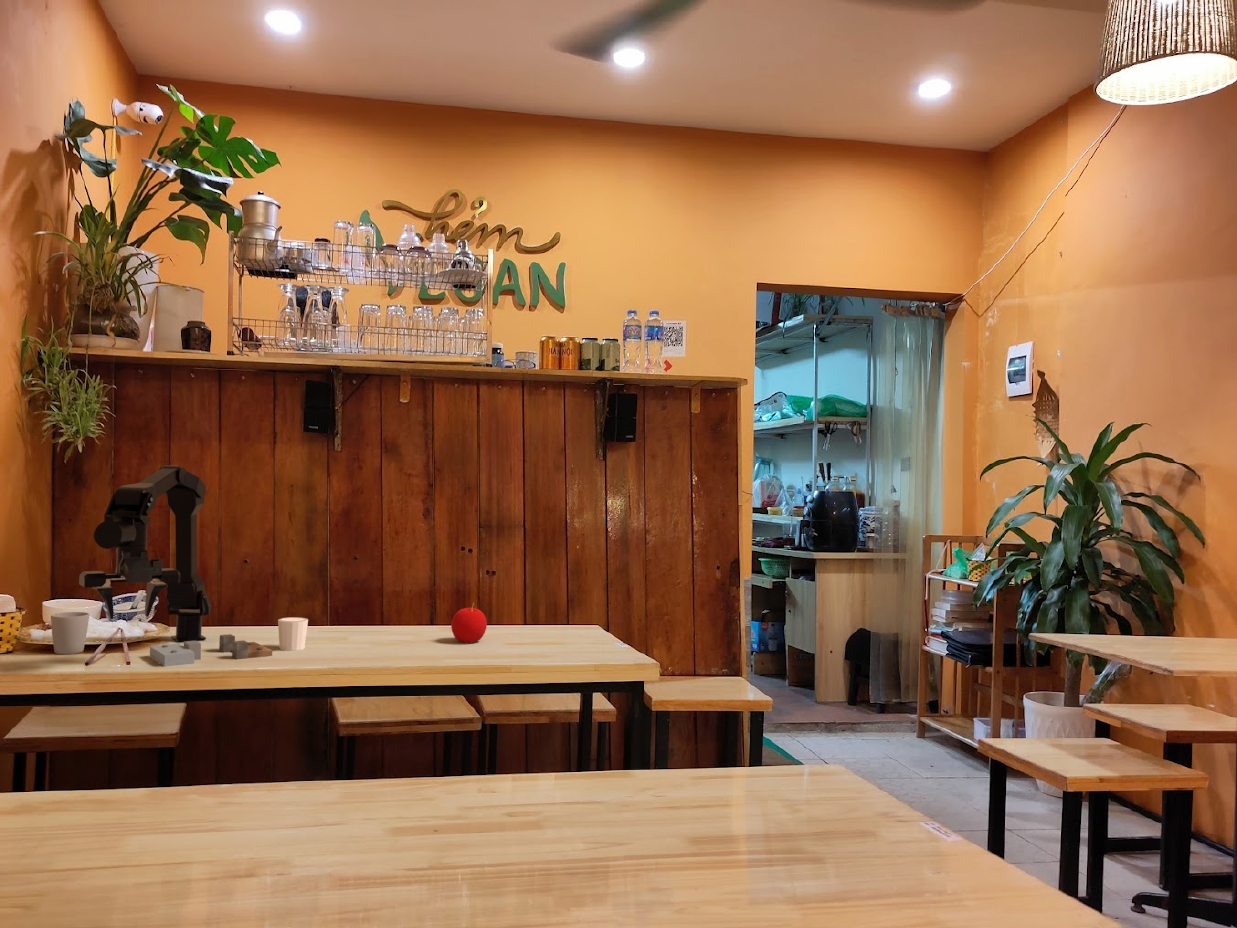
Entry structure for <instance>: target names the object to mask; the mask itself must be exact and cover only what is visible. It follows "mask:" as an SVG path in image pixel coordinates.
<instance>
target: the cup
mask: <svg viewBox="0 0 1237 928" xmlns="http://www.w3.org/2000/svg"><path fill="white" fill-rule="evenodd" d="M89 620H90V613H89V612H85V611H65V612H57V613H52V614H51V615H50V624H51V635H52V644H53V651H54V653H55V654H57V655H76V654H80V653H82V652H83V651H84V649H85V643H86V638H87V633H88V628H89V627H88V626H89Z"/></svg>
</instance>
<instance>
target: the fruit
mask: <svg viewBox="0 0 1237 928" xmlns="http://www.w3.org/2000/svg"><path fill="white" fill-rule="evenodd" d="M474 605H475V602H472V606H471V607H464V608H461V609H459V610H457V612H455V614H454V616H453V618H452V620H451V631H452V633H453V637H454V638H455V640H456V641H457V642H460V643H464V644H465V643H466V644H467V643H468V644H471V643H474V642H479V641H481V639H482V638H483V637H484V635H485V633H486V631H487V625H488V624H487V621H488V620H487V618H486V615H485V614H484V612H483V611H481V610H480V609H478V608H475V607H474Z"/></svg>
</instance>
